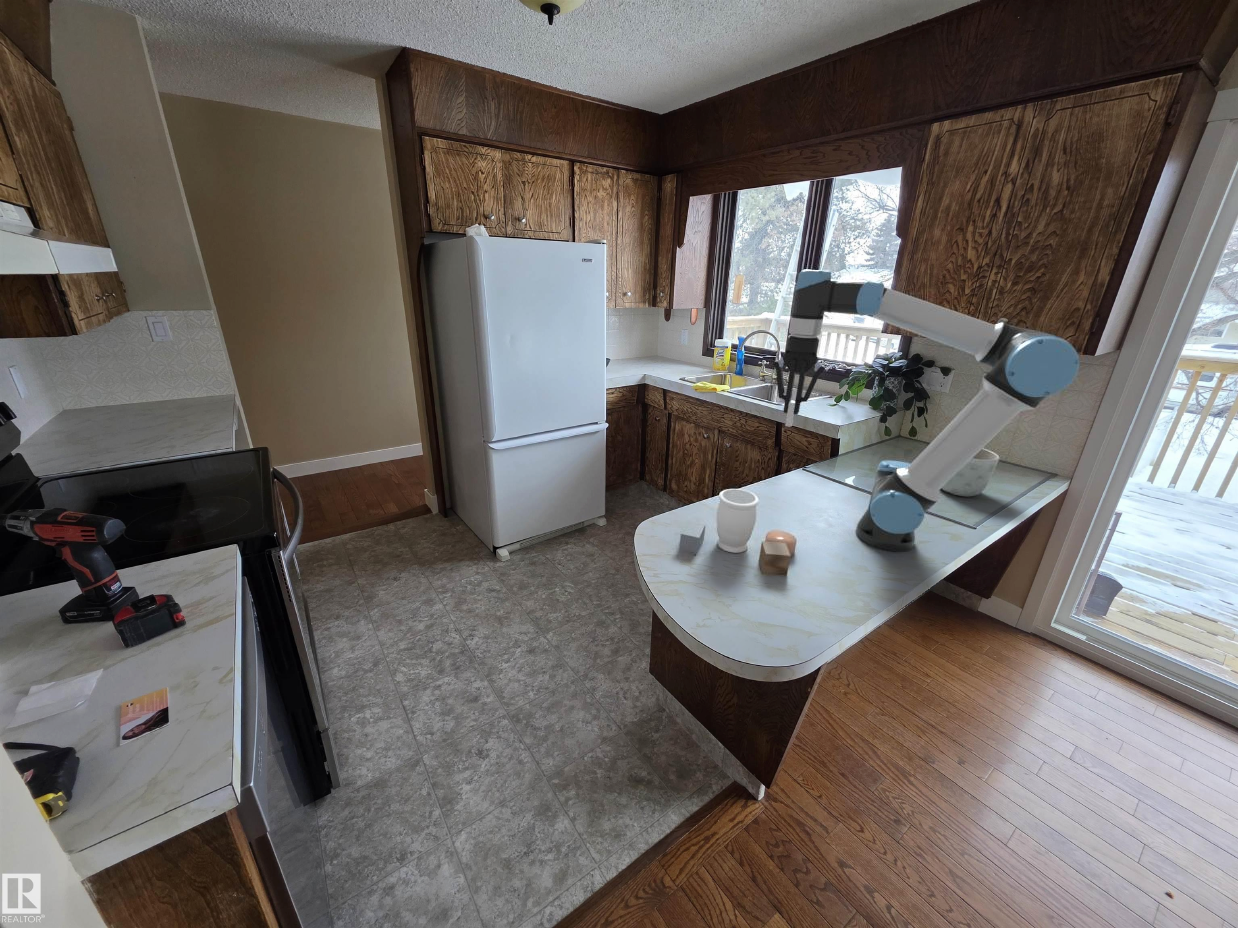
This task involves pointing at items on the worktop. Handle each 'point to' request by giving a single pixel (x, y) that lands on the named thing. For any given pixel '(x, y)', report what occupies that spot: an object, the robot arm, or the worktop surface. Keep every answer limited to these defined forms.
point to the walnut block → (774, 558)
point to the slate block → (692, 537)
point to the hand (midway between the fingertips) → (788, 425)
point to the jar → (735, 519)
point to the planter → (973, 475)
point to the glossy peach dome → (782, 539)
